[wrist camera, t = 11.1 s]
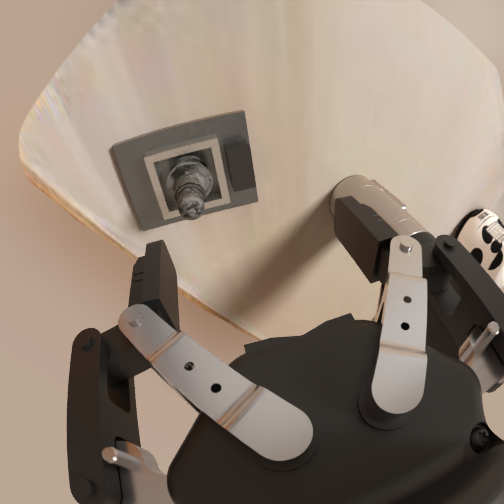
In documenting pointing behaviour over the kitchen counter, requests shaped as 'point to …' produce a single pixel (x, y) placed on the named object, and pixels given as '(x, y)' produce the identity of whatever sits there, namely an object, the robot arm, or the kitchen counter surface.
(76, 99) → the kitchen counter surface
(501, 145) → the kitchen counter surface
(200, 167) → the grey chess piece
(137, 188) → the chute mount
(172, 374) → the robot arm
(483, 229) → the milk container
